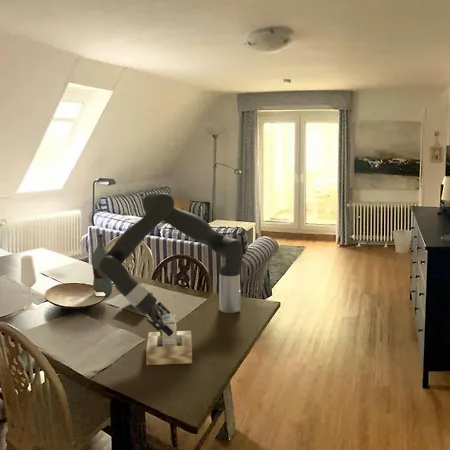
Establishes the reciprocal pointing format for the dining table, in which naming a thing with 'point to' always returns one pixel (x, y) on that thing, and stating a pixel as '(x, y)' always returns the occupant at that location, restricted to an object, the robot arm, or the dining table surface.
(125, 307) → the grey slanted panel
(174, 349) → the well block
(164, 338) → the syrup box
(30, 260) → the champagne flute
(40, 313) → the dining table surface
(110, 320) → the dining table surface
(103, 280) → the bottle
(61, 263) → the dining table surface
